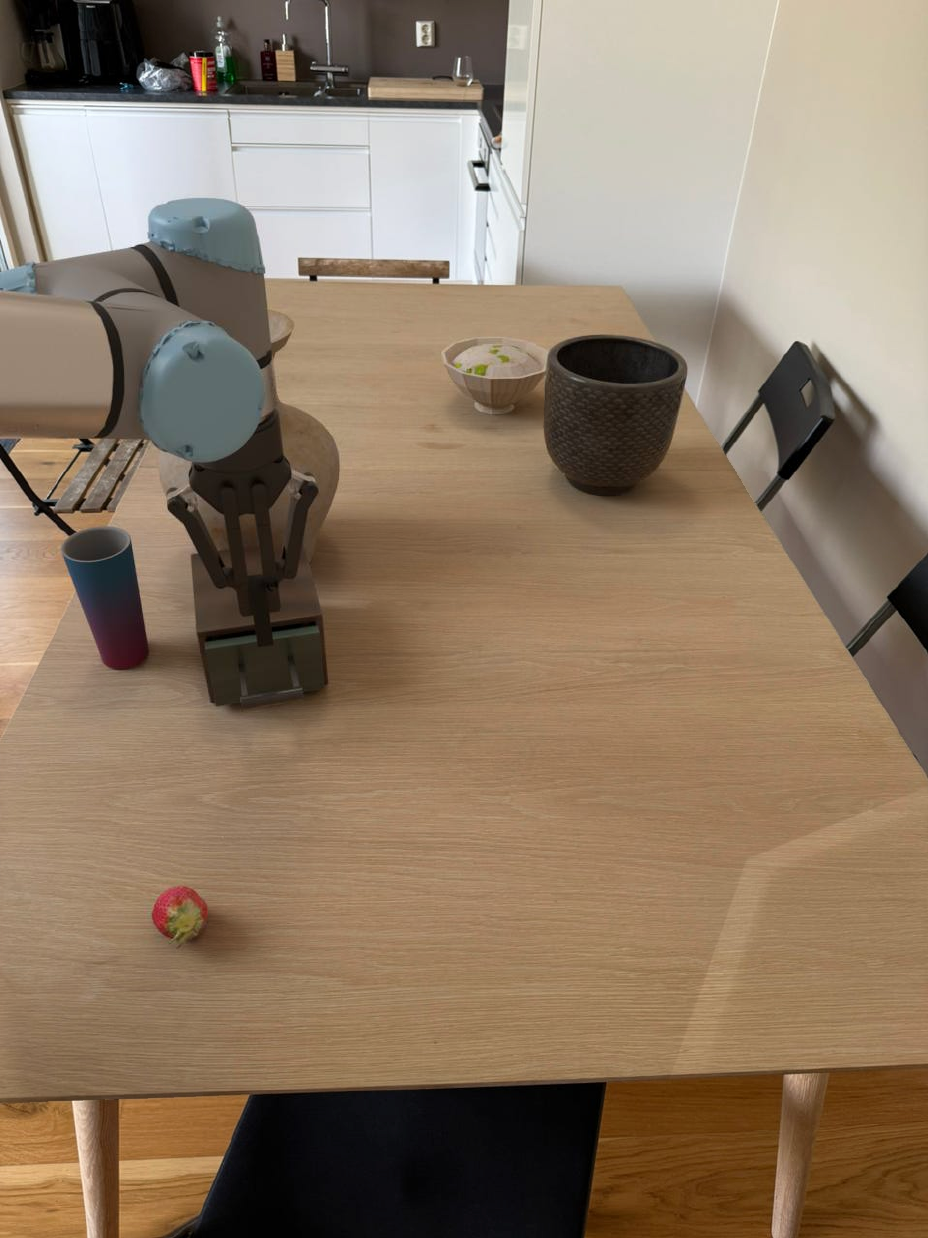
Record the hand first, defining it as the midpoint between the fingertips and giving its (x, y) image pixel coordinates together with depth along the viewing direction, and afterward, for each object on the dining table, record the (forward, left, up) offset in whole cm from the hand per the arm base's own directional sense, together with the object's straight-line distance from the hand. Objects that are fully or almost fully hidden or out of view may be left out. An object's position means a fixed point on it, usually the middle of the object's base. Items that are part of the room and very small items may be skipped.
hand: (264, 637), depth 86 cm
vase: (+2, +33, -11) cm, 34 cm away
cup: (-15, +15, -11) cm, 24 cm away
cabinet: (0, +12, -11) cm, 16 cm away
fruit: (-10, -22, -11) cm, 27 cm away
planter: (+54, +41, -11) cm, 68 cm away
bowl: (+46, +70, -11) cm, 84 cm away
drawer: (0, +6, -10) cm, 12 cm away
